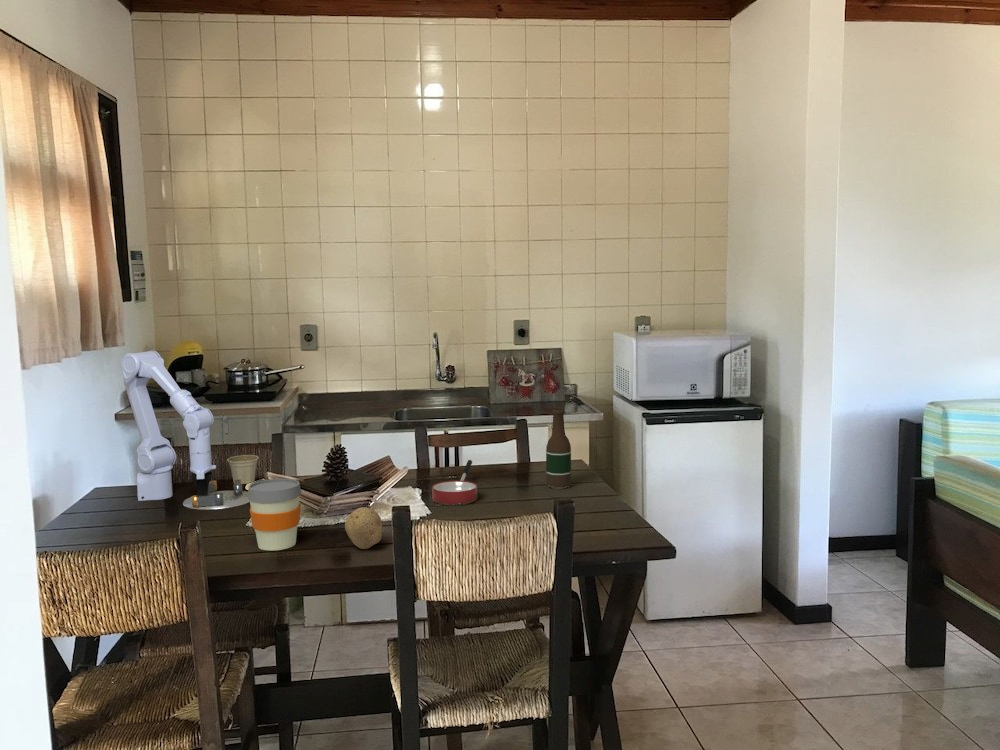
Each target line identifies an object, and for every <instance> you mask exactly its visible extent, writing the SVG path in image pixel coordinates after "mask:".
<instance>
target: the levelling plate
mask: <svg viewBox="0 0 1000 750" xmlns="http://www.w3.org/2000/svg"><path fill="white" fill-rule="evenodd" d="M219 492H222V493H223V500H224V504H222V505H210V506H199V507H192V496H190V497H188V498H186V499H184V501H182V505H183V506H184V507H185V508H188V509H192V510H193V509H195V510H222V509H229V508H233V507H239V506H242V505H246V504H248V503H249V504H250V500H249V499H248V491H246V490H242V492H243V494H242V495H234V490H219V491H218V490H217V491H214V492H212V493H210V494H215V493H219Z"/></svg>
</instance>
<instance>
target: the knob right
mask: <svg viewBox="0 0 1000 750" xmlns="http://www.w3.org/2000/svg"><path fill="white" fill-rule="evenodd" d="M233 491H234V495H242V494H243V492H242V491H243V484H241V479H237V480H234V482H233Z"/></svg>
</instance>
